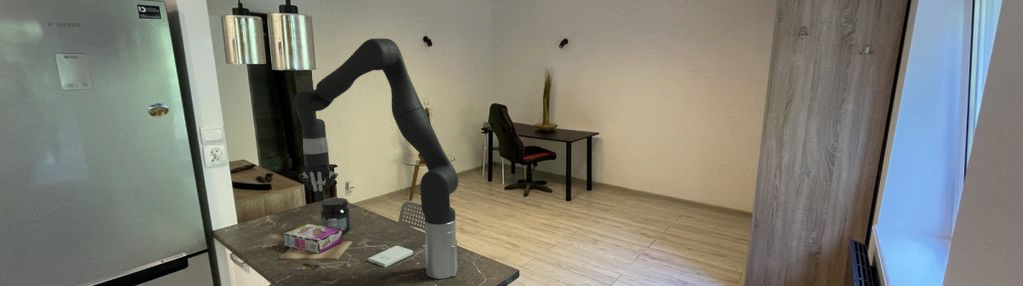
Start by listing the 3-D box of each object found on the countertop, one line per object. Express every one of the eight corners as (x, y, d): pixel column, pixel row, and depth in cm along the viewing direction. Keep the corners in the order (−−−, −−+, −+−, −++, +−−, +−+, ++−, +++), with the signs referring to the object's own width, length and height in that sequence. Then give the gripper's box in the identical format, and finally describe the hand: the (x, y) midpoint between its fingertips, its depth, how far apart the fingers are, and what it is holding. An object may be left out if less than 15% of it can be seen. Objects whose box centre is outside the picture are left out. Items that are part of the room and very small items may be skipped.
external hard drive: (413, 255, 160) (385, 268, 150) (396, 249, 165) (367, 262, 155) (413, 250, 160) (384, 263, 150) (395, 245, 165) (367, 257, 154)
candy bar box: (318, 240, 157) (282, 233, 163) (319, 254, 158) (283, 247, 164) (342, 228, 167) (307, 222, 173) (343, 242, 168) (308, 235, 174)
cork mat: (351, 242, 169) (351, 241, 169) (337, 259, 155) (337, 257, 155) (298, 242, 169) (298, 241, 169) (279, 259, 155) (279, 257, 155)
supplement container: (343, 224, 187) (341, 195, 185) (355, 231, 180) (354, 201, 178) (316, 231, 180) (314, 201, 178) (328, 239, 173) (326, 207, 170)
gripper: (290, 153, 152) (295, 205, 155) (331, 152, 152) (336, 204, 155) (300, 148, 160) (305, 198, 163) (339, 148, 160) (344, 197, 163)
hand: (320, 201), depth 159 cm, fingers closed
